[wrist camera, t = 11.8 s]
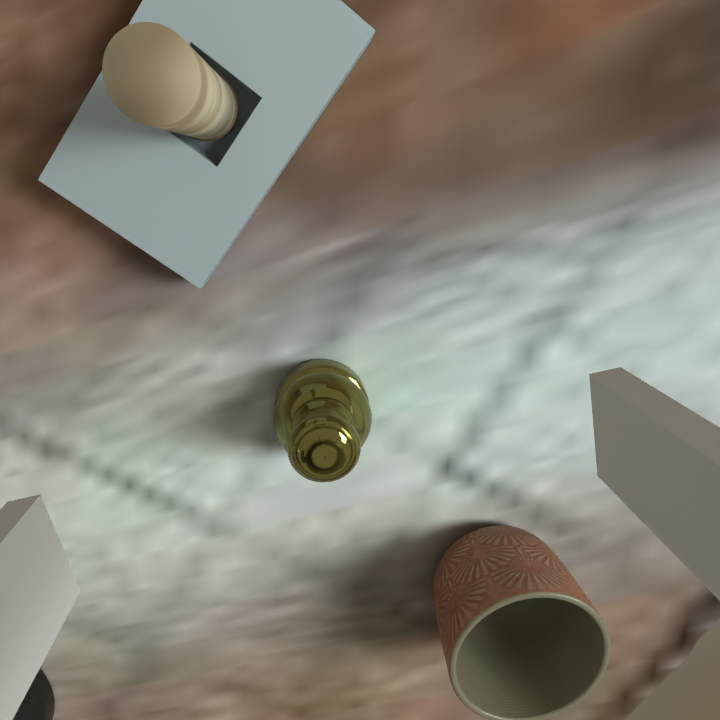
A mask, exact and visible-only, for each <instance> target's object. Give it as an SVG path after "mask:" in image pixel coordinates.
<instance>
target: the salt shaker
mask: <svg viewBox="0 0 720 720" xmlns="http://www.w3.org/2000/svg"><path fill="white" fill-rule="evenodd" d="M371 423H372V414H371V409H370V405H369V401H368V397H367V394H366V391H365V389H364V386H363V384H362V382H361V380H360V378H359V377H358V376H357V374H356V373H355V372H354V371H353V370H351V369H350V368H349V367H347V366H346V365H344V364H342V363H340V362H337V361H333V360H328V359H317V360H311V361H307V362H305V363H302V364H300V365H299V366H297V367H295V368H294V369H293V370H291V371H290V372H289V373H288V374H287V376H286V377H285V378H284V380H283V381H282V383H281V385H280V387H279V390H278V394H277V398H276V402H275V409H274V415H273V426H274V431H275V434H276V437H277V439H278V441H279V443H280V445H281V446H282V447H283V449H284V450H285V451H286V452H287V453H288V457H289V460H290V463H291V465H292V466H293V468H294V469H295V470H296V471H297V472H298V473H299V474H300V475H301V476H303V477H304V478H306V479H308V480H311V481H315V482H332V481H335V480H338V479H340V478H342V477H344V476H346V475H347V474H348V473H349V472H350V471H351V470H352V469H353V468H354V467H355V465H356V463H357V461H358V459H359V456H360V450H361V447H362V446H363V444H364V443H365V441H366V440H367V437H368V435H369V432H370V429H371Z"/></svg>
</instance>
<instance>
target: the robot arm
mask: <svg viewBox="0 0 720 720" xmlns="http://www.w3.org/2000/svg"><path fill="white" fill-rule="evenodd" d="M589 375H590V387H591V400H592V412H593V425H594V438H595V450H596V463H597V475H598V477H599V478H600V479H601V480H602V481H603V482H604V483H605V484H606V485H607V486H608V487H609V488H610V489H611V490H612V491H613V492H614V493H615V494H616V495H617V496H618V497H619V498H620V499H621V500H622V501H623V502H624V503H625V504H626V505H627V506H628V507H629V508H630V509H631V510H632V511H633V512H634V513H635V514H636V515H637V516H638V517H639V519H640V520H641V521H642V522H643V523H644V524H645V525H646V526H647V527H648V528H649V529H650V530H651V531H652V532H653V533H654V534H655V535H656V536H657V537H658V538H659V539H660V540H661V541H662V542H663V543H664V544H665V545H666V546H667V547H668V548H669V549H670V550H671V551H672V552H673V553H674V554H675V555H676V556H677V557H678V558H679V560H680V561H681V562H682V563H683V564H684V565H685V566H686V567H687V568H688V569H689V570H690V571H691V572H692V573H693V574H694V575H695V576H696V577H697V578H698V579H699V580H700V581H701V582H702V583H703V584H704V585H705V586H706V587H707V588H708V589H709V590H710V591H711V592H712V593H713V594H714V595H715V596H716V597H717V598H718V599H719V601H720V428H719V427H718V426H716V425H714V424H713V423H711V422H709V421H708V420H706V419H704V418H703V417H701V416H700V415H698V414H696V413H695V412H693V411H691V410H690V409H688V408H686V407H685V406H683V405H682V404H680V403H678V402H677V401H675V400H673V399H672V398H670V397H668V396H667V395H665V394H663V393H662V392H660V391H659V390H657V389H655V388H654V387H652V386H650V385H649V384H647V383H645V382H644V381H642V380H641V379H639V378H637V377H636V376H634V375H632V374H631V373H629V372H627V371H626V370H624V369H623V368H621V367H620V368H615V369H611V370H606V371H602V372H597V373H593V374H589ZM80 592H81V591H80V589H79V586H78V584H77V581H76V579H75V577H74V574H73V572H72V569H71V567H70V565H69V562H68V560H67V557H66V555H65V553H64V550H63V548H62V545H61V543H60V541H59V538H58V536H57V533H56V531H55V529H54V526H53V524H52V521H51V519H50V517H49V514H48V512H47V509H46V507H45V505H44V502H43V500H42V497H41V495H36V496H32V497H27V498H23V499H18V500H14V501H9V502H7V503H6V504H5V505H4V506H3V507H2V508H1V510H0V720H52V718H53V714H54V695H53V691H52V688H51V685H50V683H49V681H48V679H47V677H46V676H45V674H44V673H43V671H42V670H41V669H40V667H41V665H42V663H43V661H44V659H45V658H46V656H47V654H48V652H49V650H50V648H51V646H52V644H53V643H54V641H55V639H56V637H57V635H58V633H59V631H60V629H61V628H62V626H63V624H64V622H65V620H66V618H67V616H68V614H69V612H70V611H71V609H72V607H73V605H74V603H75V601H76V599H77V597H78V596H79V594H80Z"/></svg>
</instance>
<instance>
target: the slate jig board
mask: <svg viewBox="0 0 720 720" xmlns="http://www.w3.org/2000/svg"><path fill="white" fill-rule="evenodd" d="M138 22H153V23H158V24H161V25H164V26H166V27H168V28H170V29H172V30H173V31H175V32H176V33H177V34H179V35H180V36H181V37H182V38H183V39H184V40H185V41H186V42H187V43H188V44H189V45H190V46H191V47H192V48H193V49H194V50H195V51H196V52H197V53H198V54H199V55H200V56H201V57H202V58H203V59H204V60H205V61H206V62H207V63H208V65H209V66H210V67H211V68H212V69H213V70H214V71H215V72H216V73H218V74H220V75H221V76H222V77H224V78H225V79H226V80H227V81H228V83H229V84H230V85H231V87H232V89H233V90H234V93H235V95H236V98H237V103H238V120H237V123H236V125H235V127H234V128H233V130H232V131H231V132H230V133H229V134H227V135H226V136H224V137H222V138H220V139H218V140H214V141H199V140H195V139H193V138H190V137H189V136H186V135H182V134H179V133H175V132H171V131H167V130H163V129H160V128H156V127H152V126H148V125H144V124H141V123H138V122H136V121H134V120H132V119H131V118H129V117H128V116H126V115H125V114H124V113H123V112H121V111H120V110H119V109H118V107H117V106H116V105H115V104H114V102H113V101H112V99H111V98H110V96H109V94H108V92H107V90H106V87H105V84H104V80H103V73H102V71H101V73H100V74H99V76H98V78H97V79H96V81H95V83H94V85H93V86H92V88H91V90H90V91H89V93H88V95H87V97H86V98H85V100H84V102H83V103H82V105H81V107H80V109H79V110H78V112H77V114H76V115H75V117H74V119H73V121H72V122H71V124H70V126H69V127H68V129H67V131H66V133H65V134H64V136H63V138H62V139H61V141H60V143H59V145H58V146H57V148H56V150H55V151H54V153H53V155H52V157H51V158H50V160H49V162H48V163H47V165H46V167H45V169H44V170H43V172H42V174H41V175H40V177H39V179H38V180H39V181H40V182H42V183H43V184H45V185H46V186H48V187H49V188H51V189H52V190H54V191H55V192H57V193H58V194H60V195H61V196H63V197H64V198H66V199H67V200H69V201H70V202H72V203H73V204H75V205H76V206H78V207H79V208H81V209H82V210H84V211H85V212H87V213H88V214H89V215H91V216H92V217H94V218H95V219H97V220H98V221H100V222H101V223H103V224H104V225H106V226H107V227H109V228H110V229H112V230H113V231H115V232H116V233H118V234H119V235H121V236H122V237H124V238H125V239H127V240H128V241H130V242H131V243H133V244H134V245H136V246H137V247H139V248H140V249H142V250H143V251H145V252H146V253H148V254H149V255H151V256H152V257H154V258H155V259H157V260H158V261H160V262H161V263H163V264H164V265H165V266H167V267H168V268H170V269H171V270H173V271H174V272H176V273H177V274H179V275H180V276H182V277H183V278H185V279H186V280H188V281H189V282H191V283H192V284H194V285H195V286H197V287H198V288H200V289H201V288H202V286H203V285H204V284H205V283H206V282H207V281H208V280H209V279H210V277H211V276H212V274H213V273H214V271H215V270H216V268H217V267H218V266H219V264H220V263H221V261H222V260H223V258H224V257H225V255H226V254H227V252H228V251H229V249H230V248H231V246H232V245H233V243H234V242H235V241H236V239H237V238H238V236H239V235H240V233H241V232H242V230H243V229H244V227H245V226H246V224H247V223H248V221H249V220H250V218H251V217H252V216H253V214H254V213H255V211H256V210H257V208H258V207H259V205H260V204H261V202H262V201H263V199H264V198H265V196H266V195H267V193H268V192H269V190H270V189H271V188H272V186H273V185H274V183H275V182H276V180H277V179H278V177H279V176H280V174H281V173H282V171H283V170H284V168H285V167H286V165H287V164H288V163H289V161H290V160H291V158H292V157H293V155H294V154H295V152H296V151H297V149H298V148H299V146H300V145H301V143H302V142H303V140H304V139H305V137H306V136H307V135H308V133H309V132H310V130H311V129H312V127H313V126H314V124H315V123H316V121H317V120H318V118H319V117H320V115H321V114H322V112H323V111H324V110H325V108H326V107H327V105H328V104H329V102H330V101H331V99H332V98H333V96H334V95H335V93H336V92H337V90H338V89H339V87H340V86H341V85H342V83H343V82H344V80H345V79H346V77H347V76H348V74H349V73H350V71H351V70H352V68H353V67H354V65H355V64H356V62H357V61H358V59H359V58H360V57H361V55H362V54H363V52H364V51H365V49H366V48H367V46H368V45H369V43H370V41H371V39H372V37H373V35H374V33H375V30H374V29H373V28H372V27H371V26H370V25H368V24H367V23H366V22H365V21H364V20H363V19H362V18H360V17H359V16H358V15H357V14H356V13H355V12H353V11H352V10H351V9H350V8H349V7H348V6H347V5H345V4H344V3H343V2H342V1H341V0H143V1H142V2H141V4H140V6H139V7H138V9H137V11H136V13H135V14H134V16H133V18H132V19H131V21H130V23H129V25H130V24H134V23H138Z"/></svg>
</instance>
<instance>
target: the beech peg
mask: <svg viewBox="0 0 720 720" xmlns="http://www.w3.org/2000/svg"><path fill="white" fill-rule="evenodd" d="M102 73H103V80H104V84H105V87H106V90H107V92H108V94H109V96H110V98H111V99H112V101H113V102H114V104H115V105H116V106H117V107H118V109H119V110H120V111H121V112H123V113H124V114H125V115H126V116H128V117H129V118H131V119H132V120H134V121H136V122H138V123H141V124H144V125H148V126H152V127H156V128H160V129H163V130H167V131H171V132H175V133H179V134H182V135H186V136H189V137H190V138H193V139H195V140H199V141H214V140H218V139H220V138H222V137H224V136H226V135H227V134H229V133H230V132H231V131H232V130H233V128H234V127H235V125H236V123H237V120H238V103H237V98H236V95H235V93H234V90H233V89H232V87H231V85H230V84H229V83H228V81H227V80H226V79H225V78H224V77H222V76H221V75H220V74H218V73H216V72H215V71H214V70H213V69H212V68H211V67H210V66H209V65H208V63H207V62H206V61H205V60H204V59H203V58H202V57H201V56H200V55H199V54H198V53H197V52H196V51H195V50H194V49H193V48H192V47H191V46H190V45H189V44H188V43H187V42H186V41H185V40H184V39H183V38H182V37H181V36H180V35H179V34H177V33H176V32H175V31H173V30H172V29H170V28H168V27H166V26H164V25H161V24H158V23H153V22H138V23H134V24H130V25H128V26H126V27H124V28H123V29H121V30H120V31H118V32H117V33H116V34H115V35H114V36H113V38H112V39H111V40H110V42H109V43H108V45H107V47H106V50H105V53H104V57H103V63H102Z"/></svg>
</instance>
